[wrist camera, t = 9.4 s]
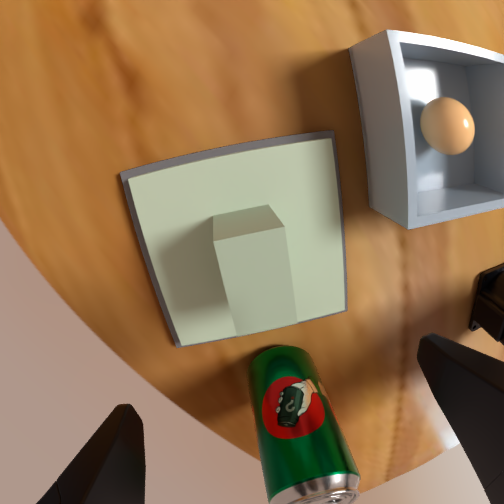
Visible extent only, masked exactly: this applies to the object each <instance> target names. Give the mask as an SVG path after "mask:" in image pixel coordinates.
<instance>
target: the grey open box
mask: <svg viewBox="0 0 504 504" xmlns="http://www.w3.org/2000/svg"><path fill="white" fill-rule="evenodd" d="M348 49H349V53H350V58H351V63H352V68H353V74H354V79H355V85H356V91H357V97H358V103H359V110H360V117H361V124H362V132H363V140H364V149H365V159H366V169H367V181H368V195H369V207H370V208H372V209H374V210H375V211H377V212H379V213H381V214H382V215H384V216H386V217H388V218H389V219H391V220H393V221H394V222H396V223H398V224H400V225H401V226H403V227H405V228H406V229H408V230H409V229H413V228H418V227H422V226H426V225H431V224H435V223H440V222H444V221H448V220H453V219H457V218H461V217H465V216H470V215H474V214H478V213H482V212H487V211H491V210H495V209H499V208H504V55H502V54H499V53H496V52H493V51H490V50H487V49H483V48H480V47H476V46H472V45H469V44H465V43H461V42H457V41H452V40H448V39H443V38H438V37H433V36H428V35H422V34H416V33H410V32H403V31H395V30H384V31H382V32H380V33H378V34H376V35H374V36H372V37H370V38H367V39H365V40H363V41H361V42H359V43H357V44H355V45H353V46H352V47H350V48H348Z"/></svg>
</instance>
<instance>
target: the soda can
mask: <svg viewBox="0 0 504 504" xmlns="http://www.w3.org/2000/svg"><path fill="white" fill-rule="evenodd" d="M247 381H248V388H249V394H250V400H251V406H252V412H253V418H254V424H255V430H256V436H257V442H258V448H259V453H260V459H261V464H262V470H263V476H264V481H265V487H266V492H267V498H268V502H269V504H352V503H354V502H355V501H356V500H357V499H358V497H359V491H358V490H357V489H358V485H359V482H360V478H361V477H360V474H359V471H358V469H357V466H356V464H355V461H354V459H353V456H352V454H351V451H350V449H349V446H348V444H347V441H346V439H345V436H344V434H343V432H342V429H341V427H340V424H339V422H338V419H337V417H336V414H335V412H334V410H333V407H332V405H331V402H330V400H329V398H328V395H327V393H326V390H325V388H324V385H323V383H322V381H321V378H320V376H319V373H318V371H317V369H316V366H315V364H314V362H313V359H312V357H311V356H310V354H309V353H308V352H306V351H305V350H303V349H301V348H298V347H294V346H277V347H273V348H270V349H268V350H266V351H264V352H262V353H261V354H259V355H258V356H257V357H256V358H255V359H254V360H253V361H252V362H251V364H250V365H249V367H248V370H247Z"/></svg>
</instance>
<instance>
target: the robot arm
mask: <svg viewBox="0 0 504 504" xmlns="http://www.w3.org/2000/svg"><path fill="white" fill-rule="evenodd" d="M481 327H482V328H483V329H484V330H485V331H486V332H487V333H488V334H489V335H490V336H491V337H493V338H494V339H495V340H496V341H497V342H499V341H500V342H501V343H502V344H503V345H504V264H502V265H499V266H497V267H495V268H492V269H490V270H487V271H485V272H483V273H482V274H481V276H480V279H479V285H478V290H477V295H476V299H475V304H474V308H473V312H472V317H471V321H470V324H469V329H470V330H471V331H475V330H477V329H479V328H481ZM417 360H418V363H419V365H420V367H421V369H422V371H423V374H424V376H425V378H426V380H427V382H428V384H429V387H430V389H431V391H432V393H433V395H434V397H435V399H436V401H437V403H438V405H439V406H440V408H441V410H442V411H443V413H444V415H445V417H446V418H447V420H448V422H449V424H450V425H451V427H452V429H453V431H454V432H455V434H456V436H457V438H458V440H459V442H460V443H461V445H462V447H463V448H464V451H465V453H466V455H467V456H468V458H469V460H470V462H471V464H472V466H473V468H474V470H475V472H476V474H477V476H478V478H479V480H480V482H481V484H482V486H483V488H484V489H485V490H484V491H485V492H486V495H487V497H488V499H489V501H490V503H491V504H504V362H503V361H500V360H498V359H495V358H493V357H491V356H488V355H486V354H483V353H481V352H478V351H476V350H474V349H471V348H469V347H466V346H464V345H461V344H459V343H457V342H454V341H452V340H449V339H447V338H445V337H442V336H440V335H437V334H435V333H429V334H427V335H424V336H422V337H421V339H420V343H419V348H418V353H417ZM145 472H146V465H145V449H144V431H143V423H142V420H141V418H140V417H139V415H138V414H137V412H136V411H135V409H134V408H133V406H132V405H130V404H120V405H117V406H116V407H115V408H114V410H113V411H112V412H111V413H110V415H109V416H108V417H107V418H106V420H105V421H104V422H103V423H102V425H101V426H100V427H99V428H98V429H97V431H96V432H95V433H94V434H93V436H92V437H91V438H90V439H89V440H88V442H87V443H86V444H85V445H84V447H83V448H82V449H81V450H80V452H79V453H78V454H77V455H76V456H75V458H74V459H73V460H72V461H71V463H70V464H69V465H68V466H67V468H66V469H65V470H64V471H63V473H62V474H61V475H60V476H59V477H58V479H57V481H55V483H54V484H53V485H52V486H51V487H50V489H49V490H48V491H47V492H46V493H45V495H44V496H43V497H42V498H41V499H40V500H39V501H38V502H37V503H36V504H145Z"/></svg>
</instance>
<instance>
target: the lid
mask: <svg viewBox="0 0 504 504" xmlns="http://www.w3.org/2000/svg"><path fill="white" fill-rule="evenodd" d="M128 181H129V185H130V189H131V193H132V197H133V200H134V204H135V208H136V211H137V215H138V218H139V222H140V225H141V229H142V232H143V236H144V239H145V242H146V245H147V249H148V252H149V255H150V258H151V261H152V264H153V267H154V270H155V274H156V277H157V279H158V282H159V285H160V288H161V291H162V294H163V297H164V300H165V303H166V305H167V308H168V311H169V314H170V316H171V319H172V322H173V324H174V327H175V330H176V332H177V335H178V337H179V340H180V342H181V345H182V346H184V345H190V344H196V343H201V342H207V341H212V340H218V339H223V338H228V337H233V336H237V337H238V336H243V335H248V334H253V333H257V332H262V331H267V330H271V329H276V328H280V327H284V326H288V325H293V324H297V323H298V322H301V321H305V320H309V319H313V318H317V317H321V316H325V315H328V314H332V313H336V312H340V311H343V310H345V294H344V268H343V250H342V235H341V222H340V210H339V199H338V189H337V179H336V171H335V162H334V154H333V147H332V139H331V138H325V139H317V140H309V141H302V142H295V143H288V144H282V145H275V146H269V147H263V148H258V149H252V150H247V151H241V152H236V153H231V154H226V155H221V156H216V157H212V158H207V159H202V160H198V161H193V162H189V163H185V164H181V165H176V166H172V167H168V168H164V169H160V170H156V171H153V172H149V173H145V174H141V175H138V176H134V177H131V178H129V179H128Z"/></svg>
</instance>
